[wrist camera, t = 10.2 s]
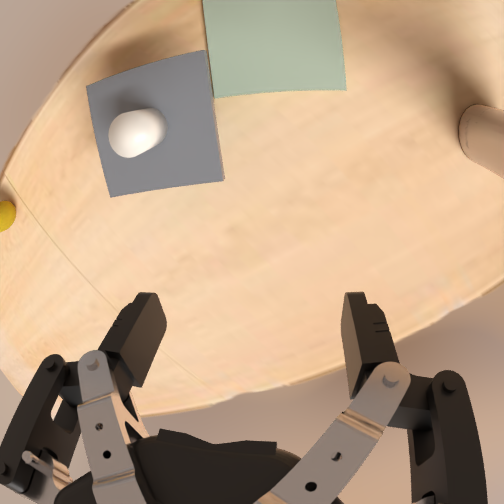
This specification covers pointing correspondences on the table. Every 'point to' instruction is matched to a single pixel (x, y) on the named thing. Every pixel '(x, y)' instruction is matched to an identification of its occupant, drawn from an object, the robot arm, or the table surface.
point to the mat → (274, 46)
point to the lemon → (6, 215)
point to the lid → (157, 126)
